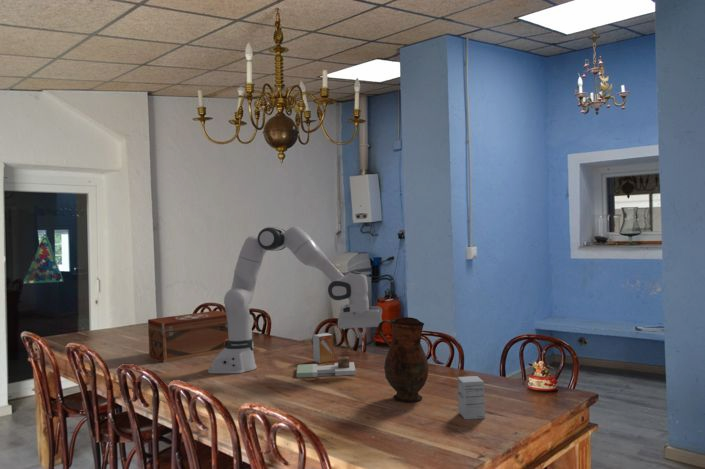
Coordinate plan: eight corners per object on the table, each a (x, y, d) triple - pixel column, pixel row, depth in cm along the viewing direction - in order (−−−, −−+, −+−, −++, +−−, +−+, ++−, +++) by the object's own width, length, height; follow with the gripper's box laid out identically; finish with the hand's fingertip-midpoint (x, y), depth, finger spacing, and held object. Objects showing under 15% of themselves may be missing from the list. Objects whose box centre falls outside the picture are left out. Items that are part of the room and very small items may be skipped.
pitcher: (413, 408, 216) (410, 324, 215) (367, 398, 230) (364, 319, 229) (439, 396, 228) (436, 317, 227) (394, 388, 242) (391, 313, 242)
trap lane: (296, 377, 265) (296, 373, 265) (298, 369, 281) (297, 364, 281) (355, 374, 266) (355, 370, 266) (353, 366, 282) (353, 362, 282)
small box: (320, 363, 290) (318, 336, 290) (313, 361, 296) (312, 334, 295) (334, 360, 295) (333, 334, 295) (327, 358, 300) (326, 332, 300)
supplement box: (458, 413, 208) (456, 376, 208) (479, 411, 209) (477, 375, 209) (463, 419, 201) (462, 382, 201) (485, 418, 201) (484, 380, 201)
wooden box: (235, 350, 331) (234, 313, 330) (163, 363, 305) (162, 323, 305) (218, 345, 347) (217, 310, 346) (148, 357, 321) (147, 319, 320)
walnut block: (338, 368, 271) (337, 359, 271) (338, 365, 276) (337, 356, 276) (349, 367, 271) (349, 358, 271) (348, 365, 276) (348, 356, 276)
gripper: (381, 304, 277) (382, 334, 278) (336, 307, 276) (338, 337, 277) (382, 306, 271) (384, 337, 271) (337, 309, 270) (338, 340, 270)
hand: (360, 337), depth 274 cm, fingers closed
